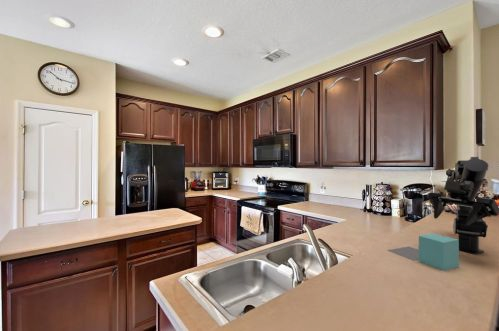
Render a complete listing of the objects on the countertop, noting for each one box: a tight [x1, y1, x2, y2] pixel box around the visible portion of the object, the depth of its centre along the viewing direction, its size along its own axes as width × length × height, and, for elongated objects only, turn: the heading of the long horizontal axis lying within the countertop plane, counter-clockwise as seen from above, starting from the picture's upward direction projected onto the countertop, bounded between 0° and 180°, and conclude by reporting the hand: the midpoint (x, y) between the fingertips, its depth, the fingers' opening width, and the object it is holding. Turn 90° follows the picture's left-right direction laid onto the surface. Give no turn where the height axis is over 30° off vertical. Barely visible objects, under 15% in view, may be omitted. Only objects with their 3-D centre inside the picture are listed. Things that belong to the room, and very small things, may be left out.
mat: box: [387, 246, 419, 262], centre depth 84 cm, size 12×10×1 cm
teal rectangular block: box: [418, 233, 460, 272], centre depth 74 cm, size 7×7×9 cm
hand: (449, 221), depth 79 cm, fingers open, 9 cm apart
